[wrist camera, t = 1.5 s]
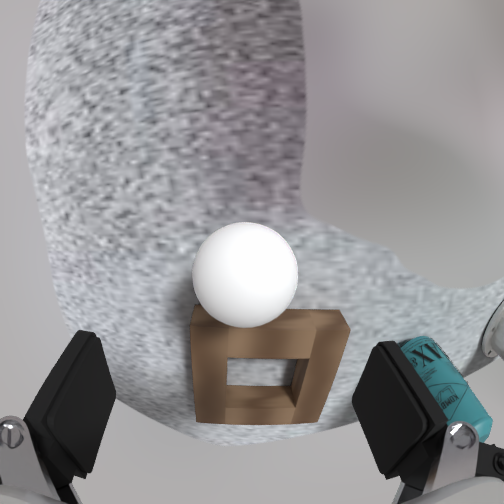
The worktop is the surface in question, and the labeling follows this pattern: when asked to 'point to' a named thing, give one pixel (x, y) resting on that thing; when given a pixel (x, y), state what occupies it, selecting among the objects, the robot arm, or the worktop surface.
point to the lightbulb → (245, 275)
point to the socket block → (266, 347)
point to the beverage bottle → (447, 385)
